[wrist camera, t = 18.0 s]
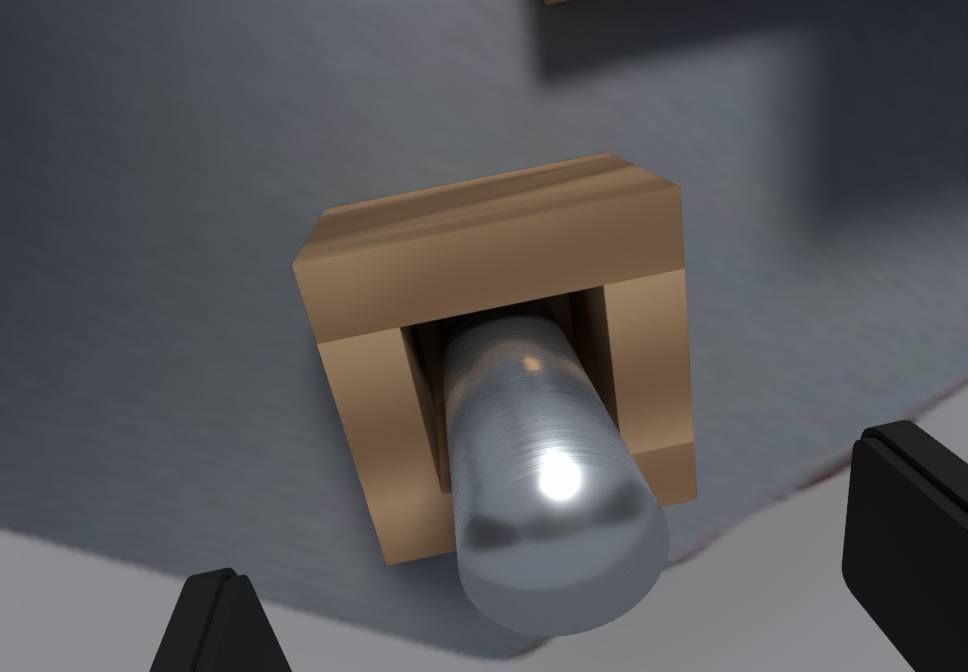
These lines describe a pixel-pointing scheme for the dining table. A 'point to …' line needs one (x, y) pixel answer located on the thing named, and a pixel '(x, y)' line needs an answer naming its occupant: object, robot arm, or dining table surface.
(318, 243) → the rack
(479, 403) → the peg
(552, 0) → the bar
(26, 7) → the dining table surface
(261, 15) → the dining table surface
